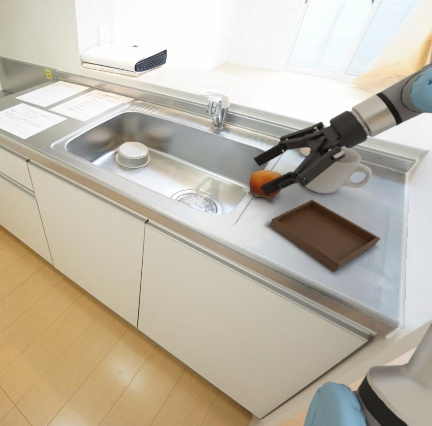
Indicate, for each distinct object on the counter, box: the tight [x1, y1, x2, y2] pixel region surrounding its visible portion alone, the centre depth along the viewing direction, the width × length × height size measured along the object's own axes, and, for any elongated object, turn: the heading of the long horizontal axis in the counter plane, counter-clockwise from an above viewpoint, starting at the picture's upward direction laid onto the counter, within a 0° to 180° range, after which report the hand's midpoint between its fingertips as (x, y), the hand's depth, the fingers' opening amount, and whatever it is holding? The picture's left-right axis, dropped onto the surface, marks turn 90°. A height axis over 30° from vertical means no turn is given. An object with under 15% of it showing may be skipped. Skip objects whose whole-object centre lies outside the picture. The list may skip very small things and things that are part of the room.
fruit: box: [249, 169, 283, 203], centre depth 73 cm, size 8×8×8 cm
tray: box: [268, 199, 382, 273], centre depth 62 cm, size 15×14×2 cm
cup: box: [304, 146, 373, 194], centre depth 72 cm, size 14×10×10 cm
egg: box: [299, 147, 311, 157], centre depth 87 cm, size 5×5×7 cm
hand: (259, 175), depth 72 cm, fingers open, 13 cm apart
